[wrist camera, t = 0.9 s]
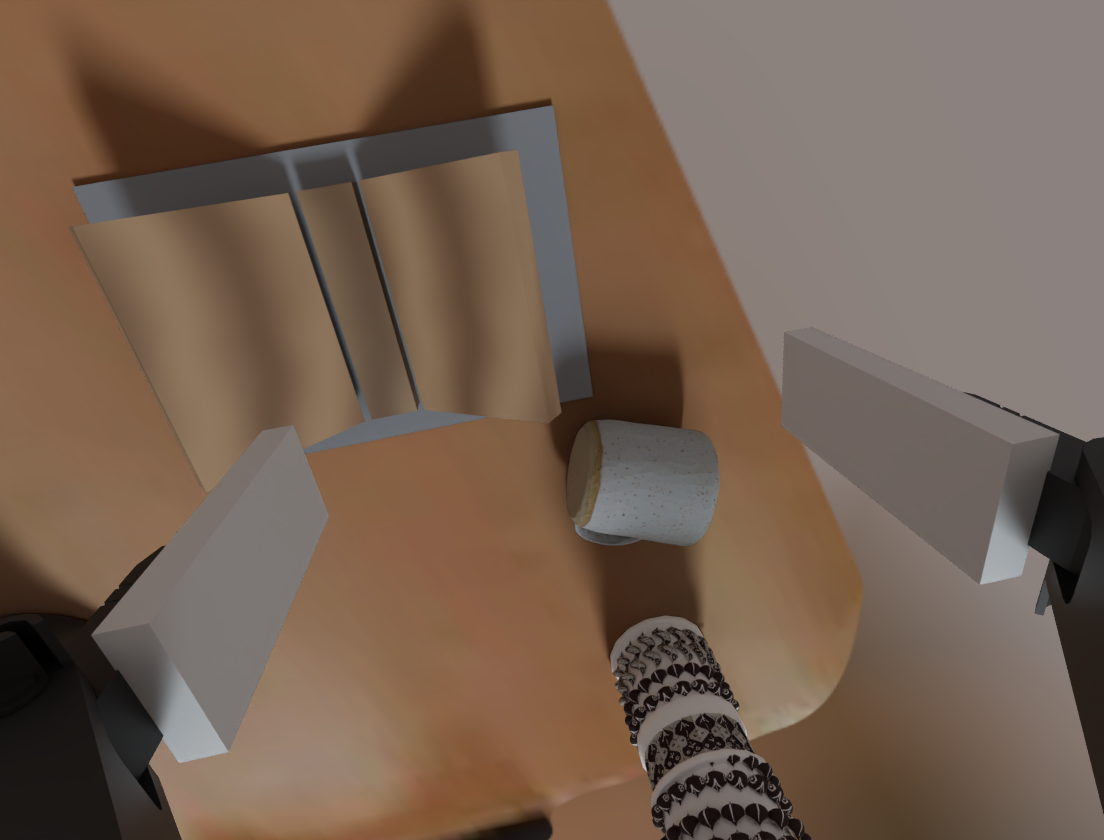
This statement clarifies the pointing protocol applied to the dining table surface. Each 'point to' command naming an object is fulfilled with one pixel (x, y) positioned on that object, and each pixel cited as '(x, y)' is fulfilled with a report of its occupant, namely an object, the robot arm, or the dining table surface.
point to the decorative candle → (695, 739)
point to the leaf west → (224, 325)
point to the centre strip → (360, 297)
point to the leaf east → (467, 286)
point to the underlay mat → (352, 164)
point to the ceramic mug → (641, 483)
